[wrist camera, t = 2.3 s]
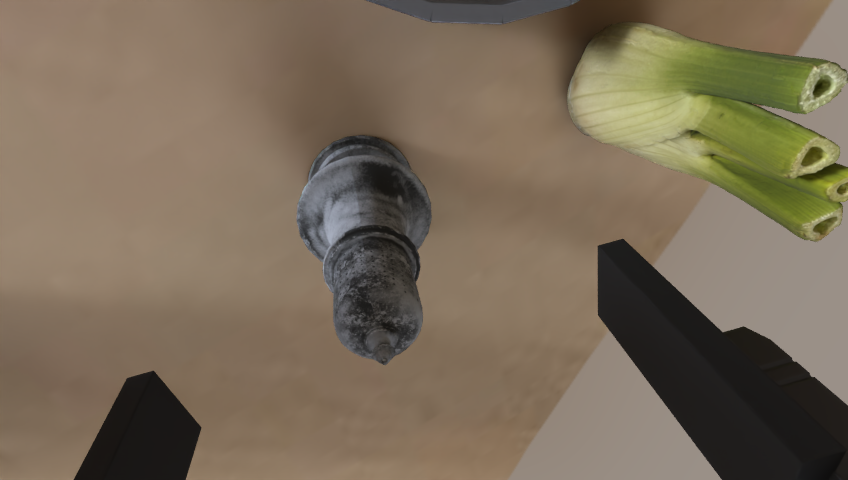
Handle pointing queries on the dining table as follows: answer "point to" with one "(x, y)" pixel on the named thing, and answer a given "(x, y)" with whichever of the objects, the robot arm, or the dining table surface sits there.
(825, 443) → the robot arm
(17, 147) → the dining table surface
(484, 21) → the pan
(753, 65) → the fennel bulb
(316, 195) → the salt shaker
